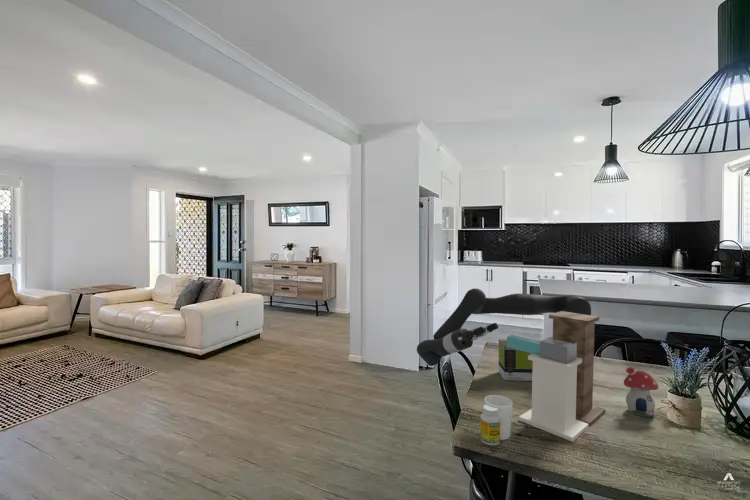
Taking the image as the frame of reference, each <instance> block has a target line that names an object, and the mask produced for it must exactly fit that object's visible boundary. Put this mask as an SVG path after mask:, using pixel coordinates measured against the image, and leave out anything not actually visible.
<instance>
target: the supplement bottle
mask: <svg viewBox="0 0 750 500" xmlns="http://www.w3.org/2000/svg"><path fill="white" fill-rule="evenodd" d="M482 411H483V412H482V413H481V414H480V441H481V443H483V444H484V445H487V446H497V445H499V444H500V443H501V442H500V441H501V440H500V417H499V415H497V414H498V408H497V407H493V406H490V405H485V404H484V405H483V407H482Z"/></svg>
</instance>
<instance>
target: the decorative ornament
mask: <svg viewBox="0 0 750 500" xmlns="http://www.w3.org/2000/svg"><path fill="white" fill-rule="evenodd" d="M625 369H626V370H625V372H626V373H627V374H628V375H626V377H625V378H624V380H623V385H624V387H627V388H629V389H630V390H629V391H628V392H627V395H626V397H625V403H626V406H627V410H628V411H629V413H630V414H631V415H635V416H637V417H641V418H647V419H649V418H650V419H651V418H654V417H655V407H656V401H655V398H654V397H653V395H652V394H651V392H650V391H656V390H659V385H658V383H657V381H656V379H655V378H654V377H653V376H652V375H650V373H648V372H646V371H642V370H635V368H634V367H632V366H629V367H627V368H625Z"/></svg>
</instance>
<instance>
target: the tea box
mask: <svg viewBox="0 0 750 500" xmlns="http://www.w3.org/2000/svg"><path fill="white" fill-rule="evenodd" d="M531 354H533V353H529V352H525V351H521V350H517V349H513V348H509V347H507V338H499V339H498V372H499V374H500V375H501V377H502V379H503V380H504V381H524V382H525V381H526V382H532V370H533V361H532V360H528V356H529V355H531Z"/></svg>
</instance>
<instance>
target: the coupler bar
mask: <svg viewBox="0 0 750 500" xmlns="http://www.w3.org/2000/svg"><path fill="white" fill-rule="evenodd" d="M506 339H507V347H509V348H513V349H517V350H521V351H525V352H529V353H533V354H537V355H540V357H541V358H545V359H549V360H553V361H557V362H561V363H565V364H568V363H570V362H572V361H574V360H575V359H576V356H577V343H576V342H571V341H566V340H561V339H557V338H553V336H552V337H551V336H549V337H546V338H545V339H542V340H536V339H532V338H528V337H523V336H518V335H514V334H510V335H508V336H506Z"/></svg>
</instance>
